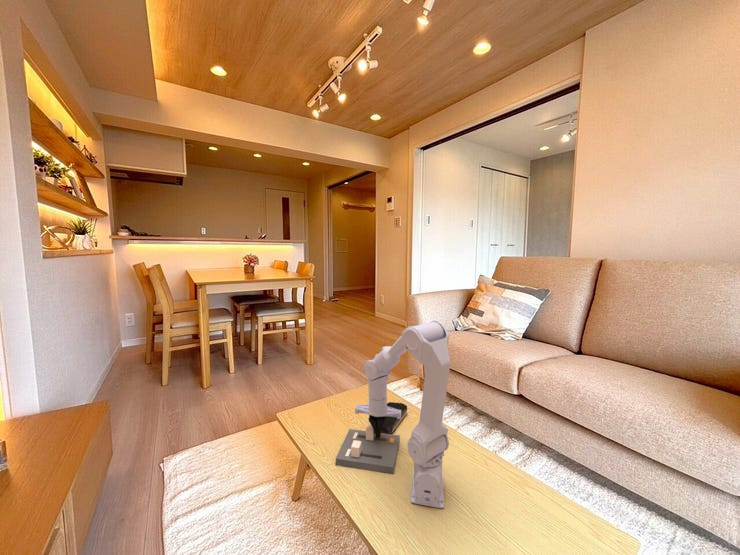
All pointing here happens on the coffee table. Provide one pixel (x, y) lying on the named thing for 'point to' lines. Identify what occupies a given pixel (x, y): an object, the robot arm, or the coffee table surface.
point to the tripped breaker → (370, 433)
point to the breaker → (356, 448)
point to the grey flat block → (370, 452)
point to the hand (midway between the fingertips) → (378, 436)
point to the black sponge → (393, 422)
